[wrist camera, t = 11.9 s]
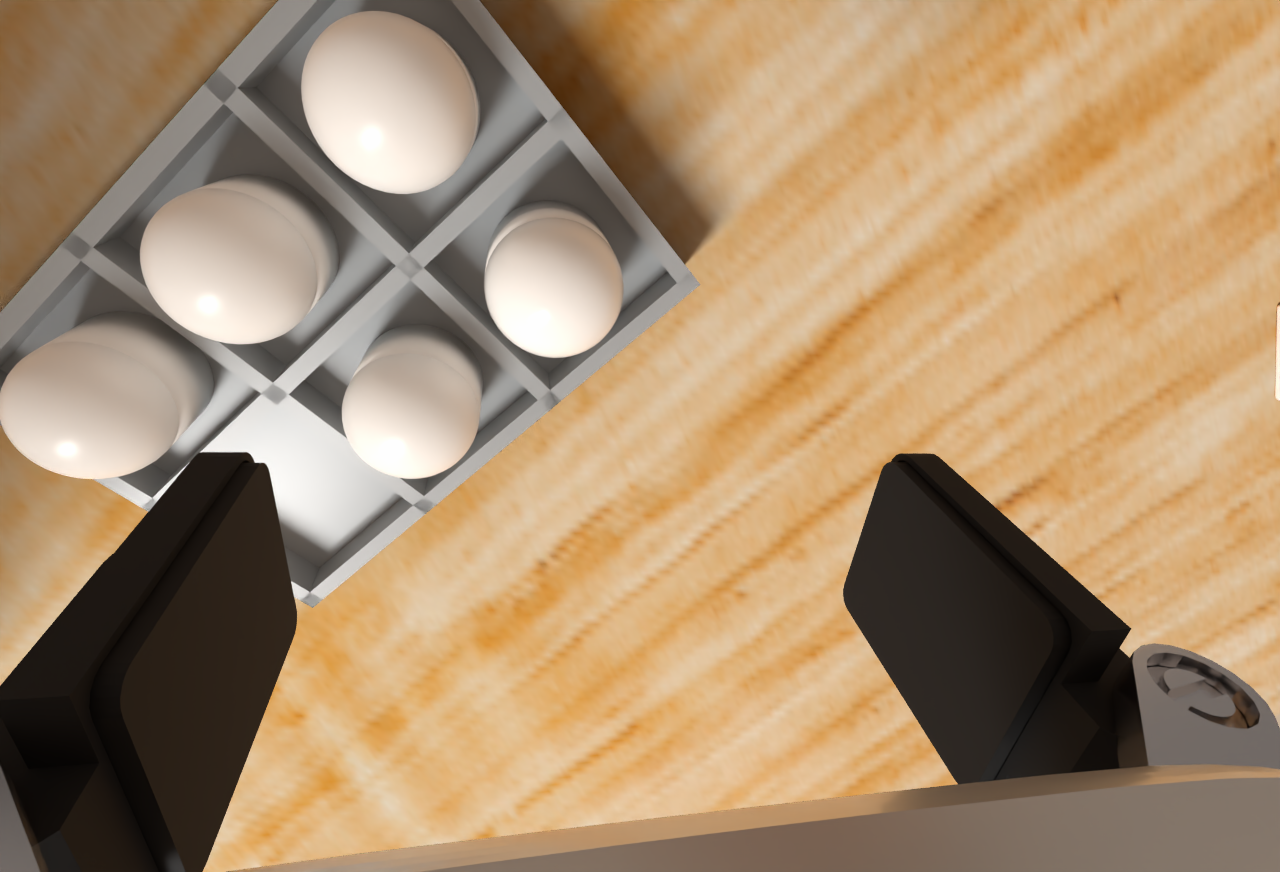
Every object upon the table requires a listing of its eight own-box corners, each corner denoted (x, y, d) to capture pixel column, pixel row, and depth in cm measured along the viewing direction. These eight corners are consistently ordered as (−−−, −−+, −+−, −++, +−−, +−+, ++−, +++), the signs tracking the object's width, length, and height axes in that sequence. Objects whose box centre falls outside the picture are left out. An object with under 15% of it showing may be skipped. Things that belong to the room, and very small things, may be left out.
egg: (548, 346, 25) (557, 406, 20) (459, 261, 22) (448, 309, 18) (635, 267, 24) (663, 313, 19) (551, 171, 22) (562, 199, 17)
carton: (327, 567, 29) (287, 675, 24) (-10, 356, 22) (-168, 441, 17) (684, 266, 25) (728, 316, 20) (400, -98, 18) (356, -164, 13)
